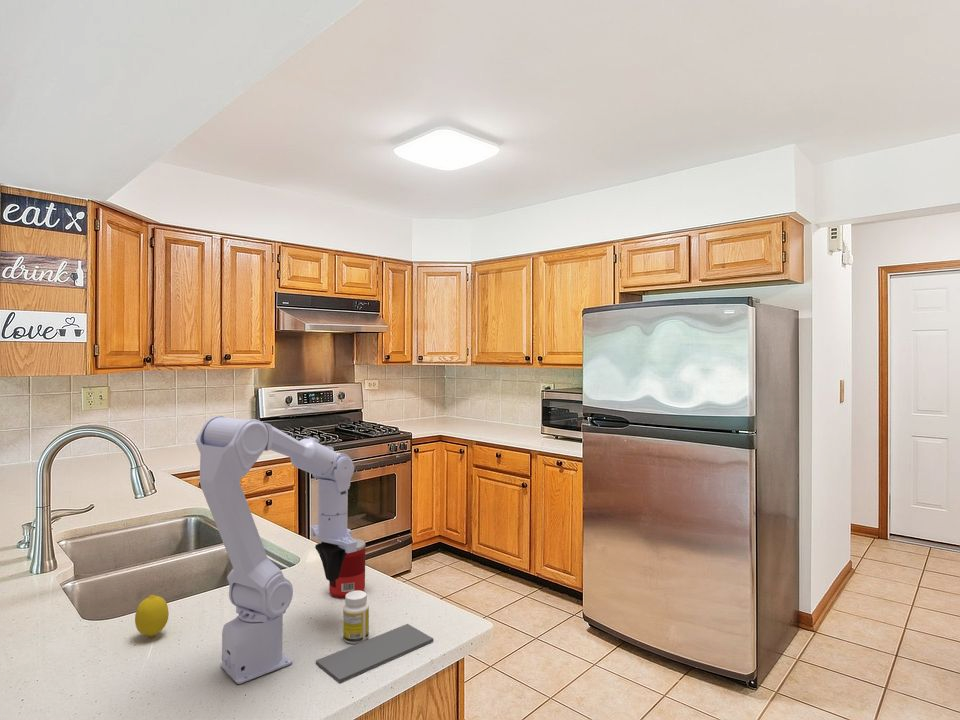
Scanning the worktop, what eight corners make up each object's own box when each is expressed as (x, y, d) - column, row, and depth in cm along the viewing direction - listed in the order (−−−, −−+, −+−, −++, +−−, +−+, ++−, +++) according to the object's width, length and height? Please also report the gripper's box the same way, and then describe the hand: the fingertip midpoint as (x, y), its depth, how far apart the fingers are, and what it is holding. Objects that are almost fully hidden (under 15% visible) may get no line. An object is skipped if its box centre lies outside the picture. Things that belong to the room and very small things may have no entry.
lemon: (127, 641, 108) (128, 598, 108) (153, 627, 113) (154, 587, 113) (149, 646, 106) (150, 603, 106) (175, 633, 111) (175, 591, 111)
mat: (339, 683, 95) (339, 679, 95) (315, 663, 101) (315, 660, 101) (433, 641, 109) (433, 638, 109) (407, 626, 115) (407, 623, 115)
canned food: (372, 589, 132) (372, 542, 132) (346, 602, 126) (347, 552, 126) (347, 582, 137) (348, 535, 136) (321, 593, 130) (322, 545, 130)
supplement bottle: (357, 629, 114) (358, 587, 113) (373, 637, 111) (374, 594, 110) (337, 639, 110) (338, 595, 110) (353, 647, 107) (354, 602, 107)
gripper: (370, 515, 114) (369, 584, 114) (332, 501, 124) (331, 563, 124) (338, 523, 109) (338, 594, 109) (301, 507, 119) (301, 572, 119)
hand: (332, 579), depth 116 cm, fingers closed
